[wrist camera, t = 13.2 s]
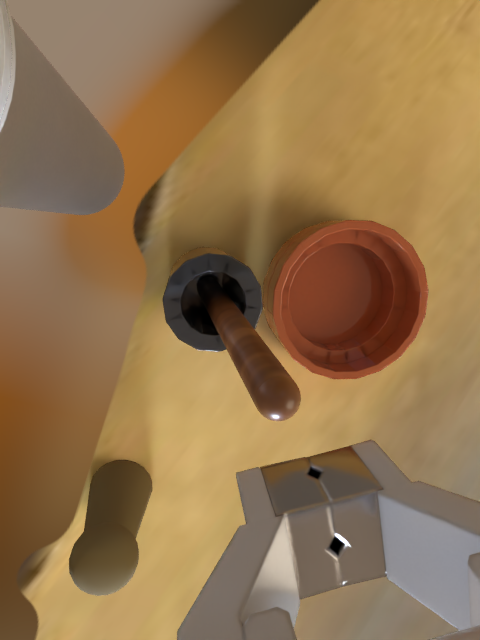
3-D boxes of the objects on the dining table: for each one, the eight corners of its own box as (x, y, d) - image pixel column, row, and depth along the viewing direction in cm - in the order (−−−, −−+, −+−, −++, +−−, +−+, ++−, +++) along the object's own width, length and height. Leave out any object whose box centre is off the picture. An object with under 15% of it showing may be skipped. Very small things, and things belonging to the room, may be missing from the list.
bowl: (241, 336, 40) (250, 353, 35) (291, 199, 38) (308, 195, 33) (364, 375, 43) (390, 396, 37) (417, 249, 40) (453, 252, 35)
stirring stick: (192, 293, 37) (254, 425, 17) (199, 272, 37) (271, 382, 17) (213, 299, 38) (297, 434, 18) (220, 278, 38) (315, 392, 17)
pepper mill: (163, 473, 42) (155, 557, 31) (135, 522, 43) (119, 619, 32) (106, 450, 41) (79, 529, 30) (79, 500, 42) (43, 595, 31)
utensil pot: (159, 308, 38) (150, 335, 29) (182, 235, 37) (181, 238, 28) (228, 330, 40) (243, 363, 30) (253, 260, 39) (276, 272, 29)
